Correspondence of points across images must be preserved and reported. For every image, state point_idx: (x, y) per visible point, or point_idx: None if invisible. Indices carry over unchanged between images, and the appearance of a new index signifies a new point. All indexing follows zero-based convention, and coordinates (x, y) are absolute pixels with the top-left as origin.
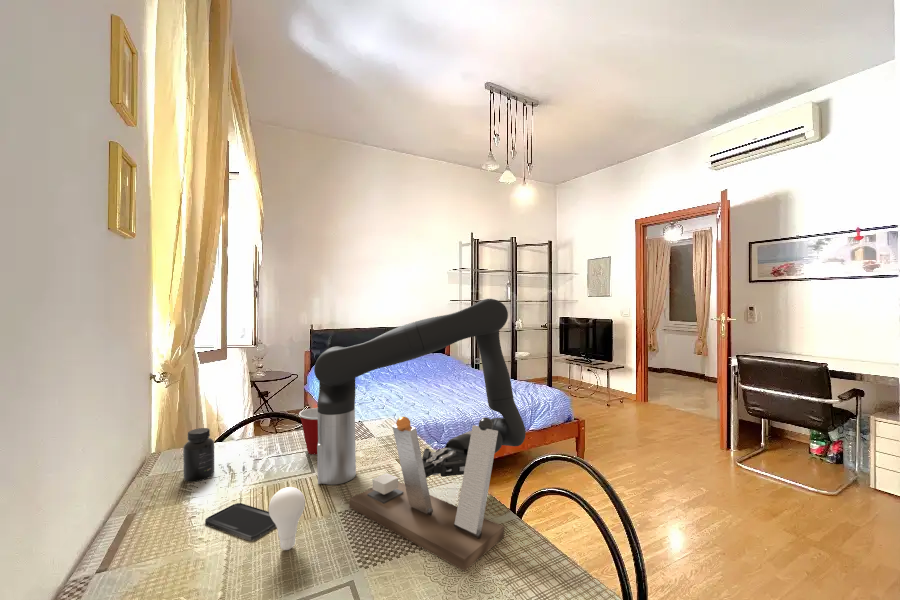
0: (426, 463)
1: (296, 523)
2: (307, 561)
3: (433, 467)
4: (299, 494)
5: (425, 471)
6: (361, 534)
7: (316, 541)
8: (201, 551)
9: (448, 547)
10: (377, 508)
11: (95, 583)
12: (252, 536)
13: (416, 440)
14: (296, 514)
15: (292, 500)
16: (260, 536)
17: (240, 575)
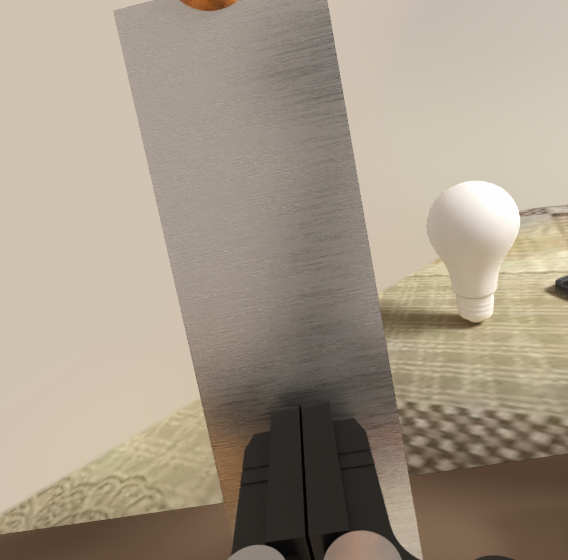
0: (327, 504)
1: (454, 271)
2: (402, 337)
3: (233, 546)
4: (451, 205)
5: (247, 449)
6: (436, 434)
7: (474, 355)
8: (552, 255)
9: (72, 537)
10: (526, 483)
11: (523, 217)
12: (556, 281)
13: (144, 122)
14: (431, 241)
15: (433, 205)
16: (565, 295)
17: (435, 284)
